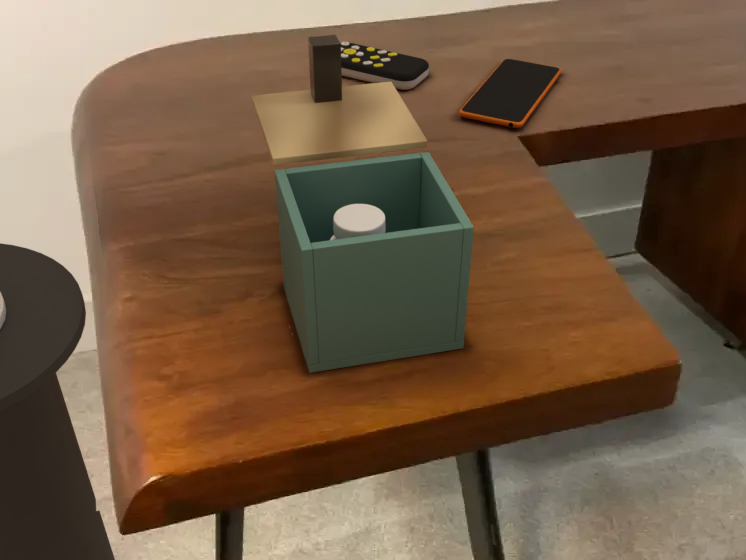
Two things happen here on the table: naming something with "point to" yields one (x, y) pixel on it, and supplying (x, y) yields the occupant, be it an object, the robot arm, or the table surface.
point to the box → (374, 261)
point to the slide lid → (334, 114)
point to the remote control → (382, 66)
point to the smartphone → (510, 93)
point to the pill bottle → (358, 221)
